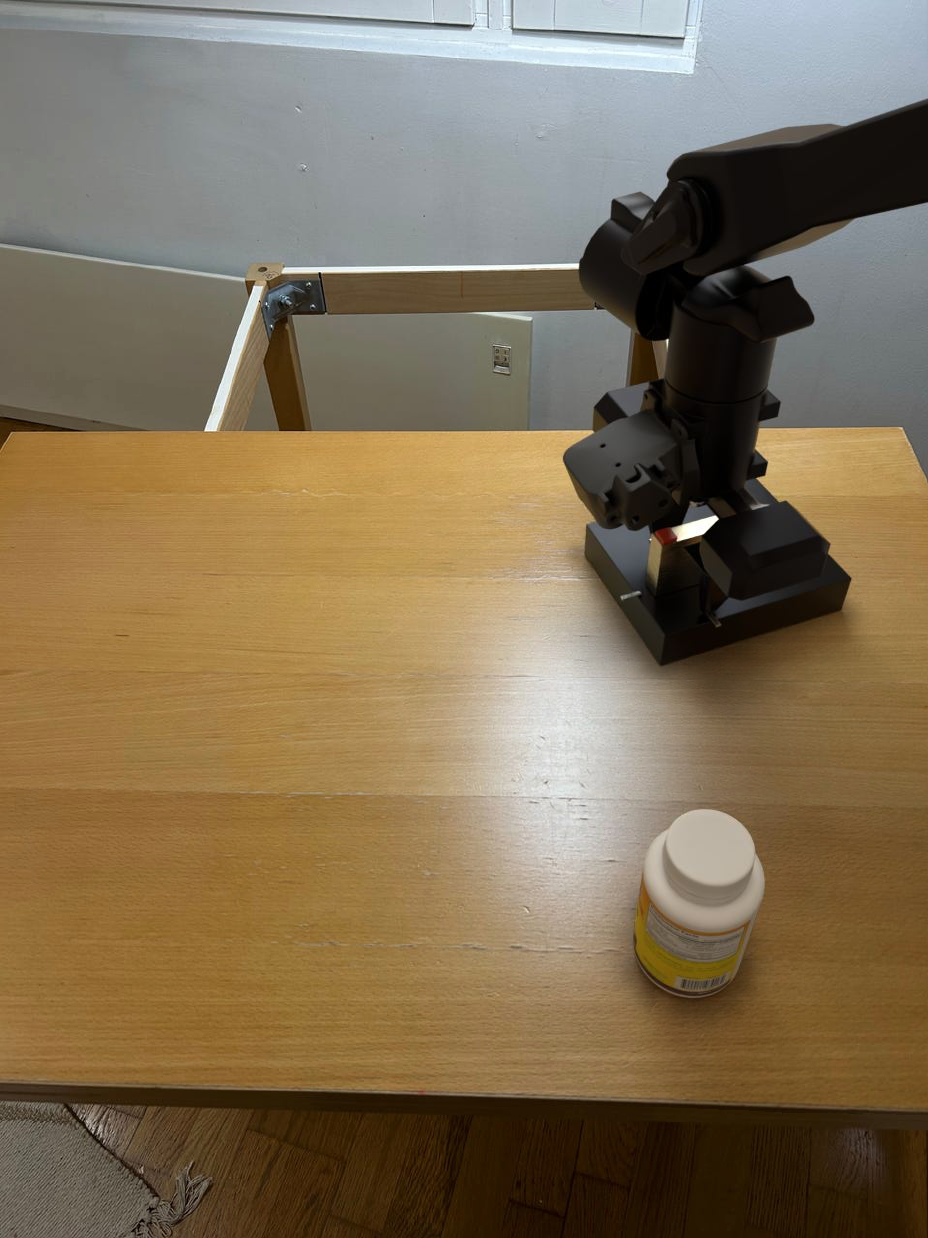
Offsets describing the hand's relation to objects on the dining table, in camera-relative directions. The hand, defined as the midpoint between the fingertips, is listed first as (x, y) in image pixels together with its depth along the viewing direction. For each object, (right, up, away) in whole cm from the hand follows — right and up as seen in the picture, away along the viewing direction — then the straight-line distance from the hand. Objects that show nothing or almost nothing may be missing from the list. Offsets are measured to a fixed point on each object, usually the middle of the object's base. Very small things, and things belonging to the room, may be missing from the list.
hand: (684, 579), depth 66 cm
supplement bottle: (-3, -20, -15) cm, 25 cm away
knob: (0, 0, 0) cm, 0 cm away
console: (+3, 0, +4) cm, 5 cm away
